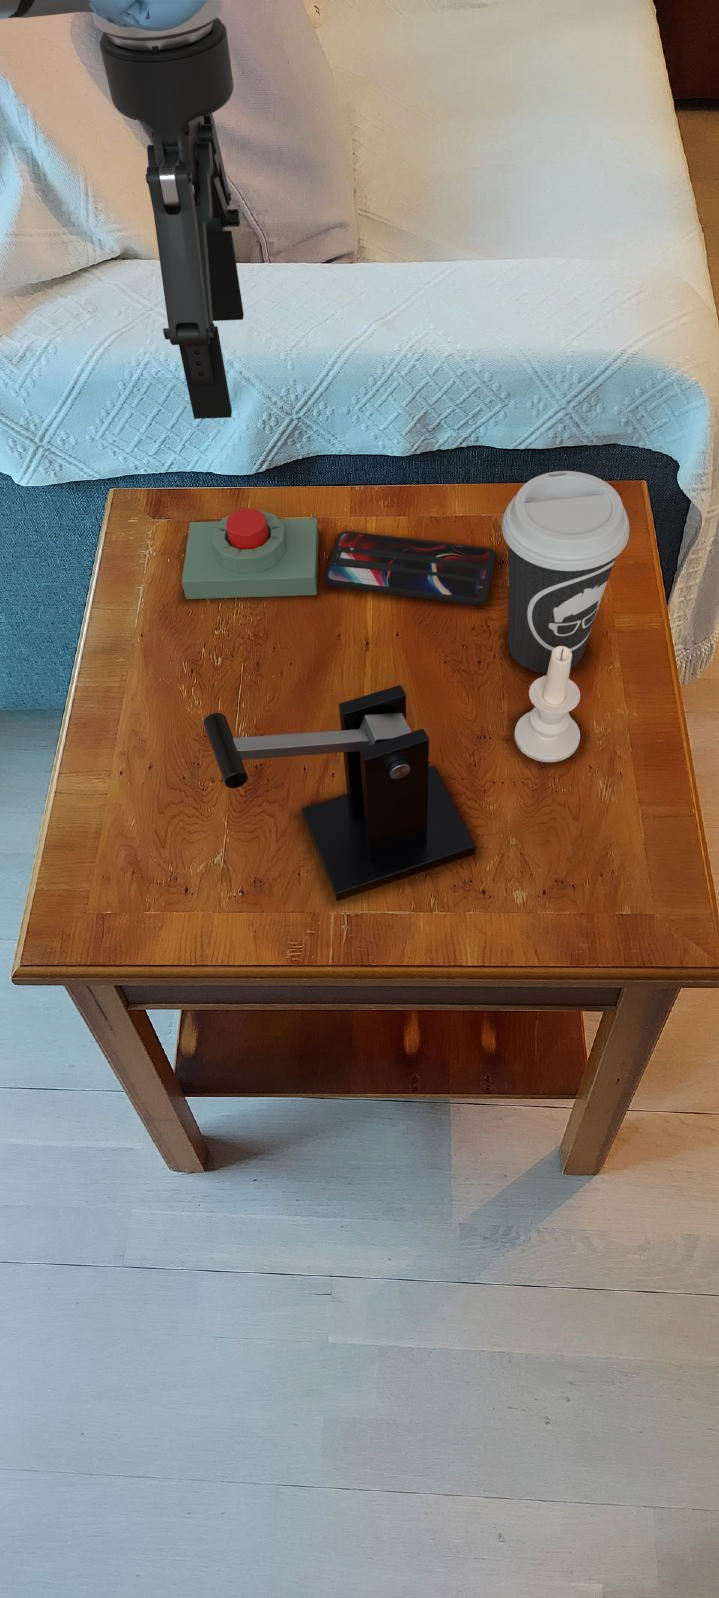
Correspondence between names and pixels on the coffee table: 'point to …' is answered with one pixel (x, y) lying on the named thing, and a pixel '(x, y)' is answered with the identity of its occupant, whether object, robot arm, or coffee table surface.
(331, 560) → the smartphone
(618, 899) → the coffee table surface
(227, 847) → the coffee table surface
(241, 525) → the button
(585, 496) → the coffee cup
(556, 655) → the candle
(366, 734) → the lever
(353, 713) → the bracket
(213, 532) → the button box
